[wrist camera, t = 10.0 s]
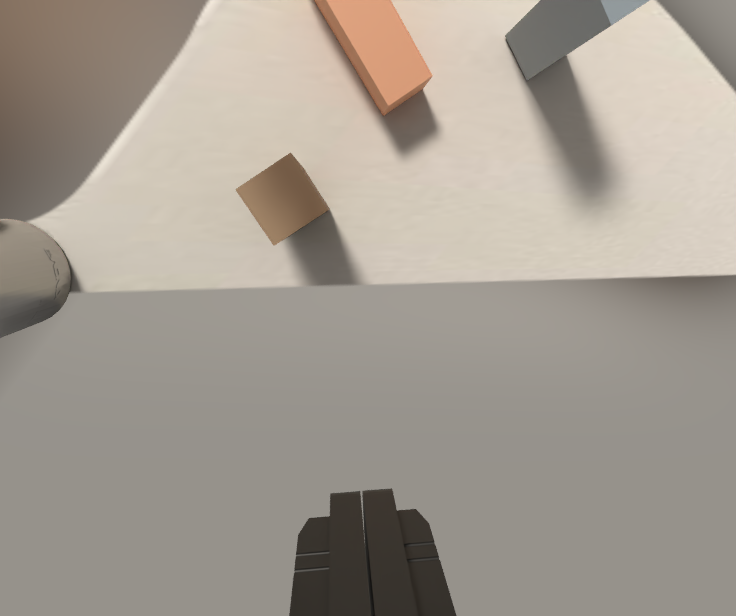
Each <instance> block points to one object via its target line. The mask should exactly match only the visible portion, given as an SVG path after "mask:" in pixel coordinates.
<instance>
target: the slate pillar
mask: <svg viewBox="0 0 736 616" xmlns="http://www.w3.org/2000/svg"><path fill="white" fill-rule="evenodd" d="M648 1H649V0H540V1H539V2H538V3H537V4H536V5H535V6H534V7H533V8H532V9H531V10H530V11H529V12H528V13H527V14H526V15H525V16H524V17H523V18H522V19H521V20H520V21H519V22H518V23H517V24H516V25H515V26H514V27H513V28H512V29H511V30H510V31H509V32H508V33H507V34H506V35H505V37H506V39H507V41H508V43H509V45H510V47H511V49H512V51H513V54H514V56H515V58H516V60H517V62H518V64H519V66H520V68H521V70H522V72H523V74H524V76H525V78H526V80H529V79H530V78H532V77H533V76H535V75H536V74H538V73H539V72H541V71H542V70H544V69H545V68H547V67H549V66H550V65H552V64H553V63H555V62H556V61H558V60H559V59H561V58H562V57H564V56H565V55H567V54H568V53H570V52H571V51H573V50H575V49H576V48H578V47H579V46H581V45H582V44H584V43H585V42H587V41H588V40H590V39H591V38H593V37H594V36H596V35H597V34H599V33H601V32H602V31H604V30H605V29H607V28H608V27H610V26H611V25H613V24H614V23H616V22H617V21H619V20H620V19H622V18H623V17H625V16H626V15H628V14H630V13H631V12H633V11H634V10H636V9H637V8H639V7H640V6H642V5H643V4H645V3H646V2H648Z"/></svg>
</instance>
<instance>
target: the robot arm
mask: <svg viewBox="0 0 736 616" xmlns="http://www.w3.org/2000/svg"><path fill="white" fill-rule="evenodd" d="M70 285H71V275H70V268H69V265H68V262H67V259H66V257H65V255H64V253H63V252H62V250H61V248H60V247H59V246H58V245H57V243H56V242H55V241H54V240H53V239H52V238H51V237H50V236H49V235H48V234H46V233H45V232H44V231H42V230H41V229H39V228H37V227H35V226H34V225H32V224H29V223H26V222H23V221H19V220H13V219H0V338H1V337H3V336H6V335H8V334H11V333H14V332H16V331H19V330H22V329H24V328H27V327H29V326H32V325H34V324H37V323H39V322H42V321H44V320H46V319H48V318H50V317H52V316H53V315H54V314H55V313H56V312H58V311H59V310H60V308H61V307H62V306H63V304H64V303H65V301H66V299H67V297H68V294H69V292H70ZM363 513H364V514H363V515H364V530H363V519H362V508H361V496H360V491H357V492H345V493H332V494H331V495H330V516H329V517H317V518H309V519H308V521H307V522H306V524H305V525H304V527H303V528H302V530H301V531H300V533H299V535H298V542H297V552H296V560H295V573H294V579H293V588H292V597H291V607H290V615H289V616H456V613H455V610H454V606H453V603H452V600H451V596H450V593H449V590H448V586H447V583H446V579H445V576H444V573H443V569H442V566H441V562H440V560H439V556H438V553H437V549H436V546H435V544H434V539H433V536H432V532H431V529H430V525H429V523H428V522H427V521H426V520H425V519H424V518H423V516H422V515H421V514H420V513H419V512H418V511H417V510H416V509H411V510H399V511H397V510H396V505H395V500H394V496H393V491H392V489H380V490H367V491H363ZM364 536H365V542H364Z"/></svg>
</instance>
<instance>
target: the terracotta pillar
mask: <svg viewBox="0 0 736 616" xmlns="http://www.w3.org/2000/svg"><path fill="white" fill-rule="evenodd" d="M314 1H315V2H316V4H317V6H318V7H319V9H320V11H321V12H322V14H323V16H324V18H325V19H326V21H327V23H328V24H329V26H330V28H331V29H332V31H333V33H334V34H335V36H336V38H337V39H338V41H339V43H340V44H341V46H342V48H343V49H344V51H345V53H346V55H347V56H348V58H349V60H350V61H351V63H352V65H353V66H354V68H355V70H356V71H357V73H358V75H359V76H360V78H361V80H362V81H363V83H364V85H365V86H366V88H367V90H368V92H369V93H370V95H371V97H372V98H373V100H374V102H375V103H376V105H377V107H378V108H379V110H380V112H381V113H382V115H383V116H384V115H386V114H387V113H388V112H390V111H391V110H393V109H394V108H396V107H397V106H399V105H400V104H402V103H403V102H405V101H406V100H407V99H409V98H410V97H412V96H413V95H415V94H416V93H418V92H419V91H421V90H422V89H423V88H424V87H425V85H426V84H427V83H428V81H429V80H430V79H431V77H432V74H431V72H430V70H429V68H428V67H427V65H426V63H425V61H424V59H423V58H422V56H421V54H420V52H419V50H418V49H417V47H416V45H415V43H414V41H413V40H412V38H411V36H410V34H409V32H408V31H407V29H406V27H405V25H404V23H403V22H402V20H401V18H400V16H399V15H398V13H397V11H396V9H395V7H394V6H393V4H392V2H391V0H314Z"/></svg>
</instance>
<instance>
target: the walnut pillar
mask: <svg viewBox="0 0 736 616" xmlns="http://www.w3.org/2000/svg"><path fill="white" fill-rule="evenodd" d="M235 190H236V191H237V193H238V194H239V195H240V197H241V198H242V200H243V201H244V203H245V204H246V206H247V207H248V209H249V210H250V212H251V213H252V214H253V216H254V217H255V219H256V220H257V222H258V223H259V225H260V226H261V228H262V229H263V231H264V232H265V233H266V235H267V236H268V238H269V239H270V241H271V242H272V244H273V245H276V244H277V243H279V242H280V241H282V240H283V239H285V238H287V237H288V236H290V235H291V234H293V233H294V232H296V231H297V230H299V229H300V228H302V227H303V226H305V225H307V224H308V223H310V222H311V221H313V220H314V219H316V218H317V217H319V216H320V215H322V214H323V213H325V212H326V211H328V210H329V207H328V206H327V204H326V203H325V201H324V199H323V198H322V196H321V195H320V193H319V192H318V190H317V188H316V187H315V185H314V184H313V182H312V181H311V179H310V177H309V176H308V174H307V173H306V171H305V170H304V168H303V167H302V166H301V165H300V163H299V162H298V161H297V160H296V159H295V157H294V156H293V155H292V154H291V153H289V154H288V155H286V156H285V157H283V158H282V159H280V160H279V161H277V162H276V163H274V164H273V165H271V166H270V167H268V168H267V169H265V170H264V171H262V172H261V173H259V174H258V175H256V176H255V177H253V178H252V179H250V180H249V181H247V182H246V183H244V184H243V185H241V186H240V187H238V188H237V189H235Z"/></svg>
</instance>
